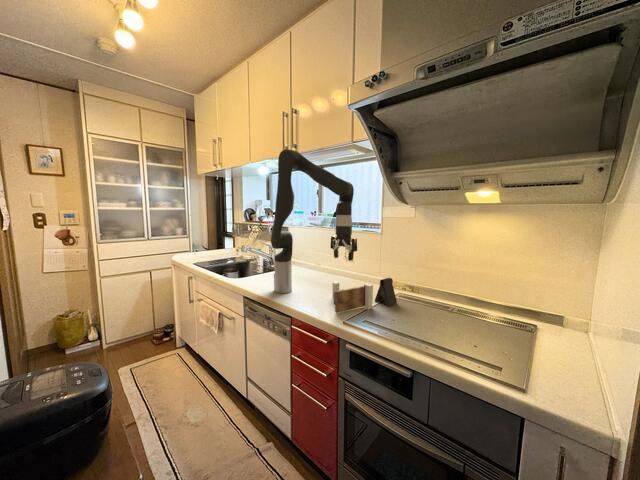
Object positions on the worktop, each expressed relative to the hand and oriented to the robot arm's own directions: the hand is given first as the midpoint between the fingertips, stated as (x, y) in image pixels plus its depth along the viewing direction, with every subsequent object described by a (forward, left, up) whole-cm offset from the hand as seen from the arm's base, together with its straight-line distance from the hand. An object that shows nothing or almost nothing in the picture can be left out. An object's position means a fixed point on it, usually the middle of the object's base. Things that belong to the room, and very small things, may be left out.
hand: (343, 259), depth 122 cm
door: (+8, -4, -21) cm, 23 cm away
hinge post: (+12, +4, -22) cm, 25 cm away
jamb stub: (-8, +4, -22) cm, 24 cm away
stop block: (0, 0, -22) cm, 22 cm away
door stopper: (+14, +16, -22) cm, 31 cm away
